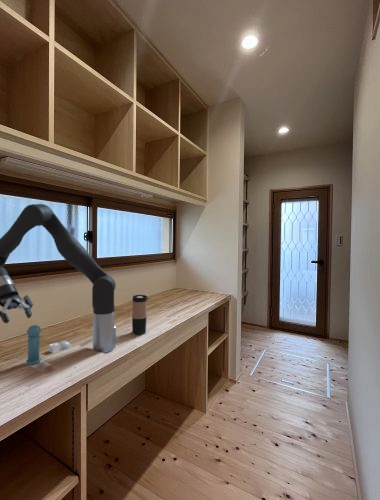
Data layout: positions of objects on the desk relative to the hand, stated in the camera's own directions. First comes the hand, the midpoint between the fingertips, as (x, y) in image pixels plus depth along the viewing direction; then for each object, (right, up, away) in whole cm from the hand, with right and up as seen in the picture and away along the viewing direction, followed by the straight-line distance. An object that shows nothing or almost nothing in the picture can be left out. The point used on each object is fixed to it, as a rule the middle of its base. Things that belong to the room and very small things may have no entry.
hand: (19, 319), depth 104 cm
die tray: (+12, -18, +8) cm, 23 cm away
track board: (+13, -17, -7) cm, 23 cm away
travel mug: (+42, -17, +34) cm, 57 cm away
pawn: (+9, -16, -4) cm, 18 cm away
